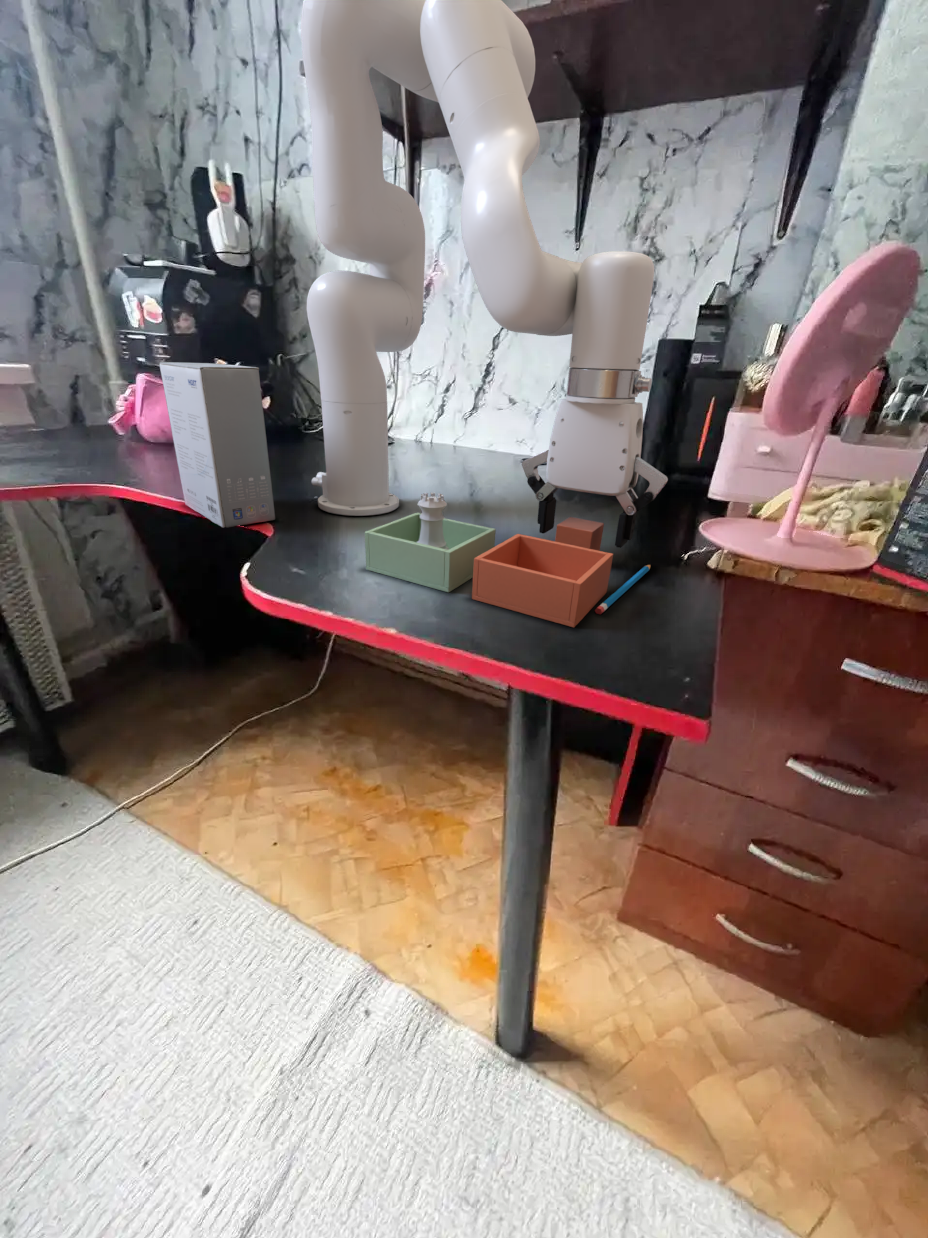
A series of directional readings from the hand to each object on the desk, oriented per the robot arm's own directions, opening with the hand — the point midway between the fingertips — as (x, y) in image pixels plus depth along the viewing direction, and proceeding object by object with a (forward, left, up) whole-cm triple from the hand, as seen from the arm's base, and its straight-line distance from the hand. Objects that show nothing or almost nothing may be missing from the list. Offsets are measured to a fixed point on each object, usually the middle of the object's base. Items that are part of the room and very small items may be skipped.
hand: (582, 537), depth 68 cm
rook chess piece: (-13, -13, -3) cm, 19 cm away
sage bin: (-13, -13, -3) cm, 19 cm away
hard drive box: (-49, -13, -3) cm, 51 cm away
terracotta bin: (+1, -13, -3) cm, 14 cm away
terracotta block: (0, 0, -3) cm, 3 cm away
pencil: (+8, -6, -3) cm, 10 cm away
